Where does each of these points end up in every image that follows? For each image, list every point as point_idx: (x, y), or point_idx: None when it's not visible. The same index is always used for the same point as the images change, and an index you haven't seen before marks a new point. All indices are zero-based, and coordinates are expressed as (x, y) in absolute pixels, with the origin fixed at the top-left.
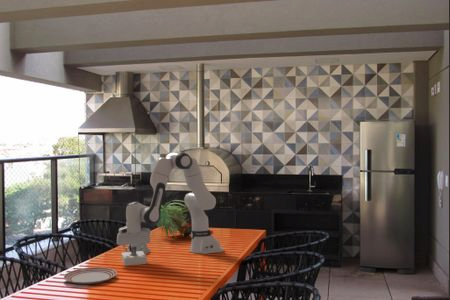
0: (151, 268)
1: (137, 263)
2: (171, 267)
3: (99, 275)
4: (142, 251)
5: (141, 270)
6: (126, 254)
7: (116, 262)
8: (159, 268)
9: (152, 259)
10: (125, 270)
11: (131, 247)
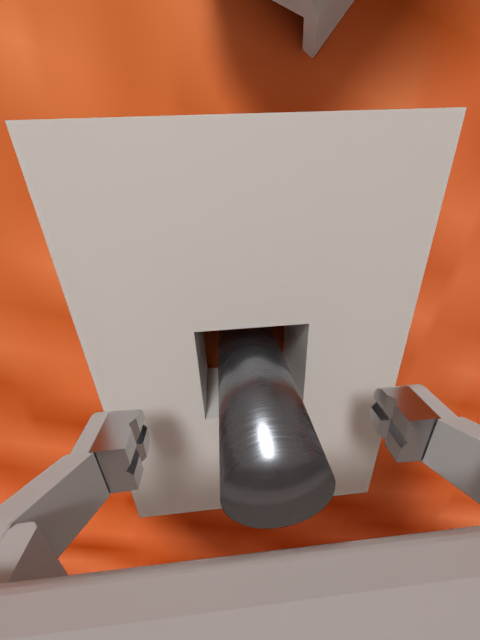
0: (336, 527)
1: None
2: (450, 523)
3: None
4: (449, 152)
5: (269, 550)
6: (141, 325)
7: (46, 328)
8: (379, 531)
9: (448, 293)
10: (171, 543)
11: (224, 504)
